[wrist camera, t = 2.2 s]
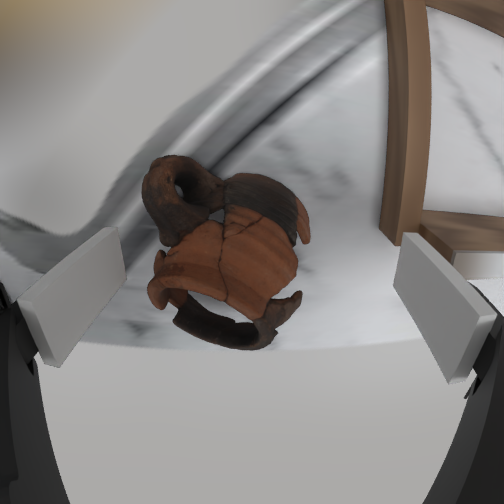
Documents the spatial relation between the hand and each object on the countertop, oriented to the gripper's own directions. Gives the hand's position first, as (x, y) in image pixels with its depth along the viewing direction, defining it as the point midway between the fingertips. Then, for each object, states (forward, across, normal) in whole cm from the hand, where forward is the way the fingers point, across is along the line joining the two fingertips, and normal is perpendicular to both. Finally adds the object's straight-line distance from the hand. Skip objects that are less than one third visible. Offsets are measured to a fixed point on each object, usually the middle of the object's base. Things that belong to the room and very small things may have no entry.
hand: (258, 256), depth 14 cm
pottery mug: (+8, -2, +1) cm, 8 cm away
